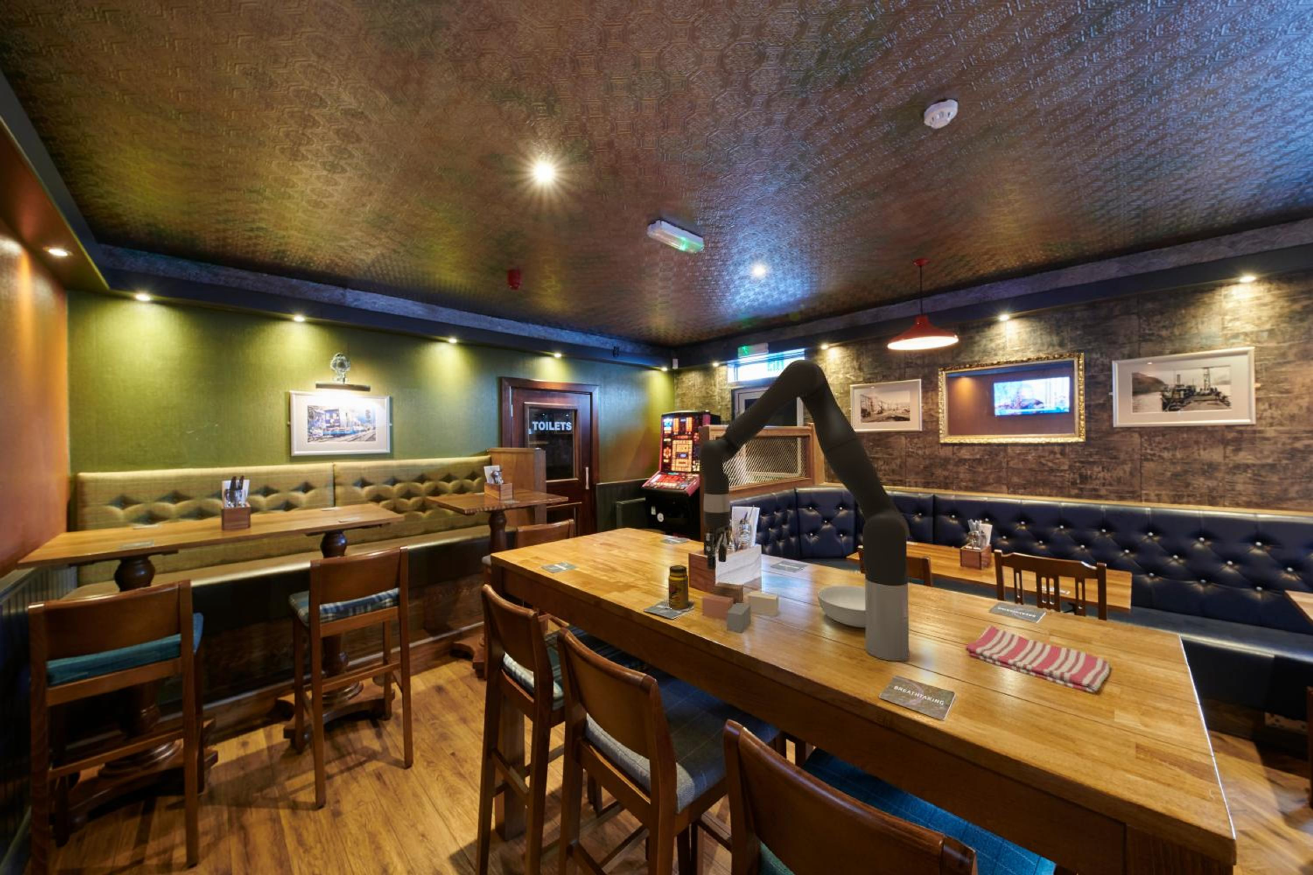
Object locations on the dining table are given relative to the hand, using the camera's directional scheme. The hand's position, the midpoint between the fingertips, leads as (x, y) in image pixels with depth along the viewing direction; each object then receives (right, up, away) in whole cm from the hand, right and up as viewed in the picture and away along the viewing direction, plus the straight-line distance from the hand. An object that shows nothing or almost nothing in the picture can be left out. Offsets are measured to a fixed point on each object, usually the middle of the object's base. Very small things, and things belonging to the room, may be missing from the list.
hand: (717, 565), depth 138 cm
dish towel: (+68, -15, -29) cm, 76 cm away
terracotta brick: (0, -15, 0) cm, 15 cm away
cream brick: (+14, -14, +2) cm, 20 cm away
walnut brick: (+5, -14, +11) cm, 19 cm away
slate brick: (+5, -15, -8) cm, 17 cm away
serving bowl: (+38, -14, -5) cm, 41 cm away
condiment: (-10, -15, +8) cm, 20 cm away
